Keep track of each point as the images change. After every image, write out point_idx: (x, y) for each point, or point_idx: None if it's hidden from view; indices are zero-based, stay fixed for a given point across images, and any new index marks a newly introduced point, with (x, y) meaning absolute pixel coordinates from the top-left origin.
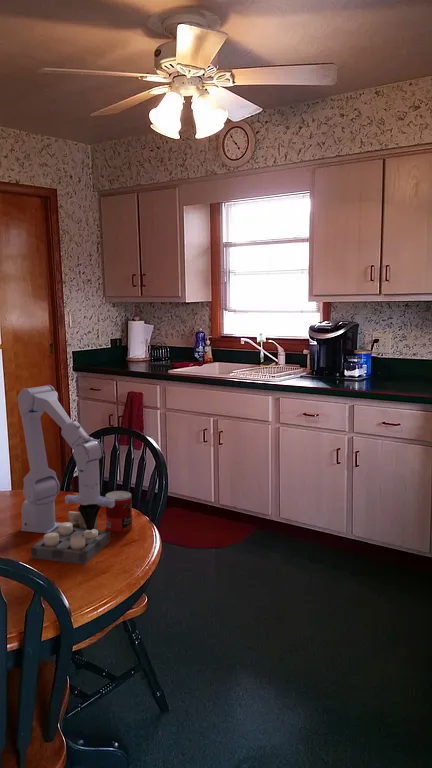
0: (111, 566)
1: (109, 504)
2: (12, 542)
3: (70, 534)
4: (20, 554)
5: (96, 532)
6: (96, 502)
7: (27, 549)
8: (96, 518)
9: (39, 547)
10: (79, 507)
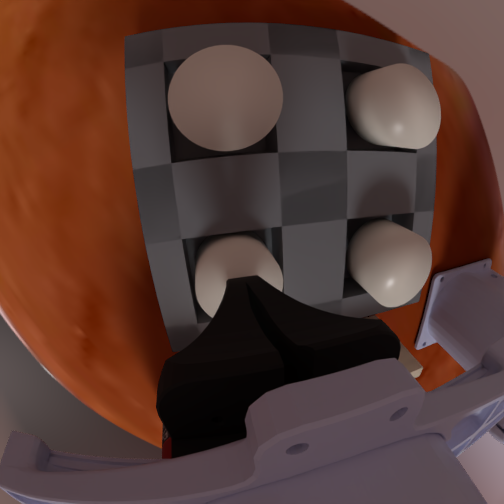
0: (25, 100)
1: (20, 461)
2: (488, 179)
3: (351, 247)
4: (442, 90)
5: (200, 292)
6: (123, 488)
7: (444, 134)
8: None
9: (403, 55)
10: (388, 357)
